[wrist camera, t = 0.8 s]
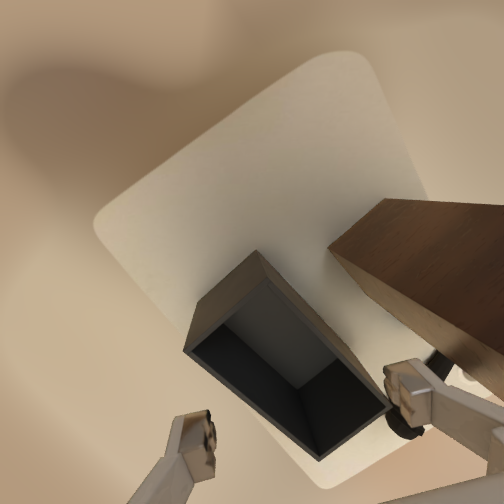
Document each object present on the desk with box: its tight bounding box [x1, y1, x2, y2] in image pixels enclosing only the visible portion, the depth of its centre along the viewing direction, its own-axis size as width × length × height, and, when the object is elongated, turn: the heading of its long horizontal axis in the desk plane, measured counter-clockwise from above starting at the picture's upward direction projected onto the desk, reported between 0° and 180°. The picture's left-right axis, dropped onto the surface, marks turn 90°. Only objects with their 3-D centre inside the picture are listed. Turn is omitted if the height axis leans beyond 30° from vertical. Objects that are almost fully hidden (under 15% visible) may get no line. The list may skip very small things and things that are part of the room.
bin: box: [183, 250, 393, 462], centre depth 31 cm, size 22×11×11 cm, turn 42°
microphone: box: [385, 352, 455, 440], centre depth 39 cm, size 6×6×20 cm
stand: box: [328, 198, 504, 401], centre depth 21 cm, size 10×10×27 cm
